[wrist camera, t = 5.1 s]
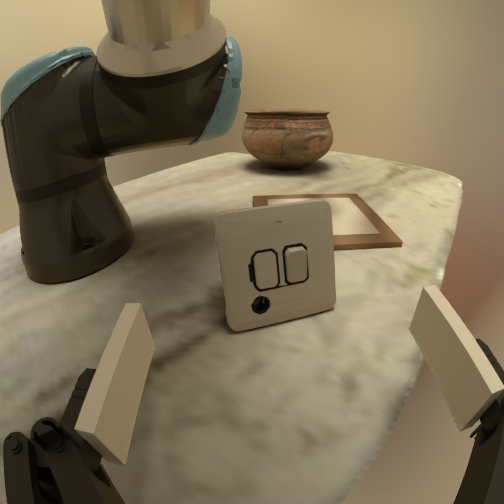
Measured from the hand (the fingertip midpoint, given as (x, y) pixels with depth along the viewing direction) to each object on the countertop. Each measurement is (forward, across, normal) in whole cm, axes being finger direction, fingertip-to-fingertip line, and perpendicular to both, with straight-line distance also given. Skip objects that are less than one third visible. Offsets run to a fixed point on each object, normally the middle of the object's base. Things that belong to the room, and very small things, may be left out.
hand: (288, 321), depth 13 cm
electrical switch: (+8, 0, -6) cm, 10 cm away
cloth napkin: (+24, +7, -6) cm, 26 cm away
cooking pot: (+54, +7, -6) cm, 54 cm away
